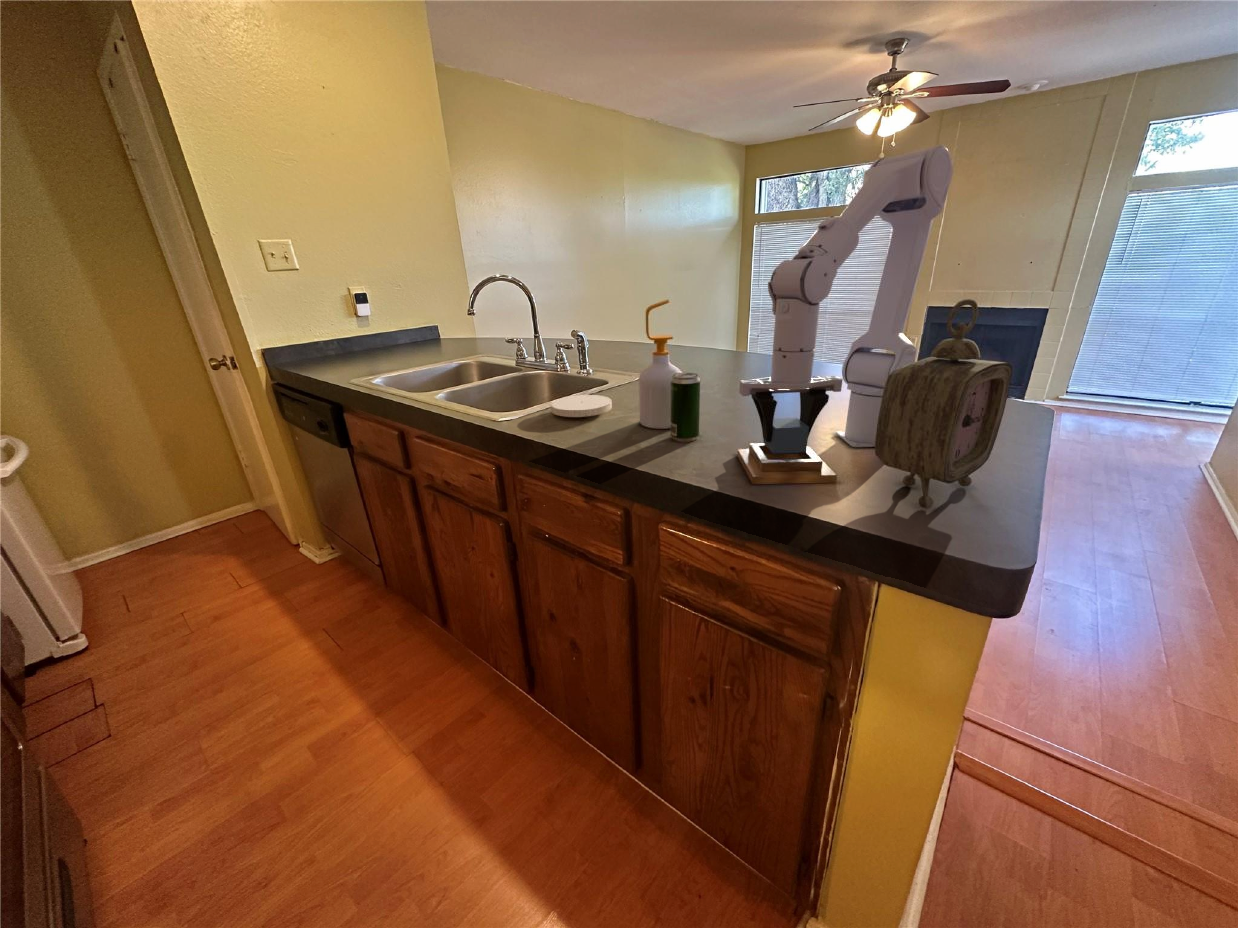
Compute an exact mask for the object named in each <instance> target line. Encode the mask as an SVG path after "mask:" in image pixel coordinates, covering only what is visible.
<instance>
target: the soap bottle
mask: <svg viewBox="0 0 1238 928" xmlns="http://www.w3.org/2000/svg"><path fill="white" fill-rule="evenodd" d="M670 302H671V301H670V300H669V298H668V299H664V300H661V301H659V302H656V303H654V304H651V305H649V306H648V307H647V308H646V309H645V335H646V337H647V339H649V340H650V341H653V344H654V345H656V350H653V351H652V363H651V364H650V365H648V366H646V367H645V368H644V369H643V370H642V371H641V372H640V373H639V377H638V399H639V400H638V401H639V402H638V404H639V423H640V425H641V426H643V427H646V428H648V429H654V430H668V429H671V379H672V375H673V374H676V373H683V371H681V370H680V368H678V367H677V366H676V365H674V364H672V363H671V362H670V351H669V350H666V344H667V345H668V343H669V340H673V339H674V336H673V335H672V334H660V335H658V334H657V335H651V334H650V332H649V331H650V330H649V314H650V312H651V311H652V310H654V309H657V308H659V307H661V306H664V305H666V304H669V303H670Z"/></svg>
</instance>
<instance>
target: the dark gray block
mask: <svg viewBox="0 0 1238 928" xmlns="http://www.w3.org/2000/svg"><path fill="white" fill-rule="evenodd" d="M808 432H809V426H807V425H806V424H805V423H803V422H802V421H801V420H800V418H798V417H778V418H774V419H773V433H772V439H771V442H766V441H765V440H764V439H763V441H762V443H764V444H765V445H766V446H767V447H768V448H769V450H770V451H771V452H772V453H773V454H777V453H799V452H806V450H807V446H808V440H809V437H808Z"/></svg>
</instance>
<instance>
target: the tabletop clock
mask: <svg viewBox="0 0 1238 928" xmlns="http://www.w3.org/2000/svg"><path fill="white" fill-rule="evenodd" d="M964 306H970V307H971V309H972V318H971V322H970V323H969V324H968V325H966V323H962V322H960V323H958V324H956V326H955V329H954V328H953V327H952V325H953V324H952V323H953V319H954V317H955V316H956V313H957V312H958V311H959V310H960V309H961V308H962V307H964ZM978 315H979V305H978V303H977V302H976V300H975V299H972V298H965V299H962V300H960V301H958V302H957V303H956V304H955V305H954V306H953V307H952V309H951V311H950V312H949V315H948V316H947V321H946V331H947V333H948V334H949V335H950V336H951V337H953V338H946V339H943V340H942V341H941V342H939V343H938V344H937V345H936V346H935V347H934V349H933V350H932V352H931V353H930V355H929V357H925V358H923V359H919V360H917V361H915V362H914V363H911V364H908V365H906V366H903V367H900V368H898V369H896V370H894V371H893V372H892V373H891V374H890V375H889V376H888V378H887V381H886V384H885V388H884V391H883V396H882V401H881V406H880V411H879V417H878V424H877V431H876V439H875V447H874V454H875V456H876V458H877V459H878V460H879V461H880V462H881V463H882V464H883V465H884V466H886V467H889V468H893V469H895V470H899V471H903V472H906V473H910V474H907V475H905V476H904V477H903V478H902V483H903V485H904V486H906V487H912V486H914V485H916V483H917V478H916V477H915V476H916V475H917V477H918V478H919V480H920V482H921V488H922V490H921V491H922V495H921V496H920V497H919V498H918V501H917V502H918V505H919V506H920V507H921V508H923V509H930V508H931V507H932V506H933V505H934V500H933V497H931V496H930V495H929V490H930V481H931V480H934V481H937V482H940V483H944V484H948V485H949V484H953V483H955V482H957V483H958V485H959V486H961V487H968V486H971V484H972V483H973V479H972V477H971V476H970V475H972V474H973V473H975V472H976V471H978V470H979V469H981V468H982V467H983V466H984V465H985V463H986V462H987V461H988V460H989V459H990V456H991V454H992V451H993V449H994V446H995V442H996V440H997V437H998V435H999V431H1000V427H1001V423H1002V420H1003V417H1004V414H1005V409H1006V405H1007V400H1008V397H1009V392H1010V386H1011V381H1012V378H1013V377H1012V375H1013V365H1012V364H1011V363H1010V362H1004V361H995V360H986V359H985V360H984V359H980V358H981V353H980V348H979V346H978V345H977V344H976V342H975V341H973V340H971V339H968V338H965V335H966V334H968V333H970V332H971V330H973V328H974V327H975V324H976V322H977V319H978Z"/></svg>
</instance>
